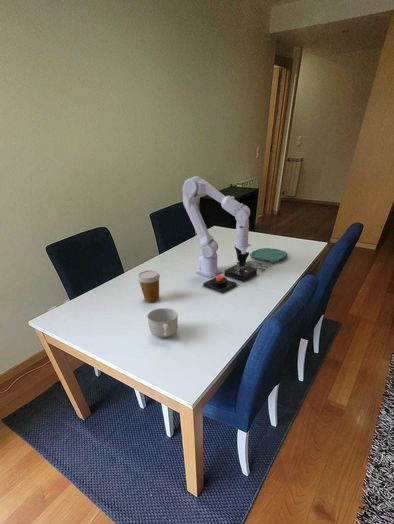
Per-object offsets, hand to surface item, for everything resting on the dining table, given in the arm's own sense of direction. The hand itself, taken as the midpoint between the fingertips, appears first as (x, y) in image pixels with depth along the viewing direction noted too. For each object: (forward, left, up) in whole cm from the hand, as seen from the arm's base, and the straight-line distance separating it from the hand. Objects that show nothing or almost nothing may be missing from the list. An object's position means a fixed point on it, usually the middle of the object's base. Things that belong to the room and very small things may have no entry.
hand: (241, 263), depth 143 cm
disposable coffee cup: (-15, -45, -6) cm, 48 cm away
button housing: (0, -16, -6) cm, 17 cm away
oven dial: (0, 0, -3) cm, 3 cm away
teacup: (+11, -60, -6) cm, 61 cm away
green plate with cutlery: (-2, +24, -6) cm, 25 cm away
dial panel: (0, 0, -6) cm, 6 cm away
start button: (0, -16, -3) cm, 16 cm away
